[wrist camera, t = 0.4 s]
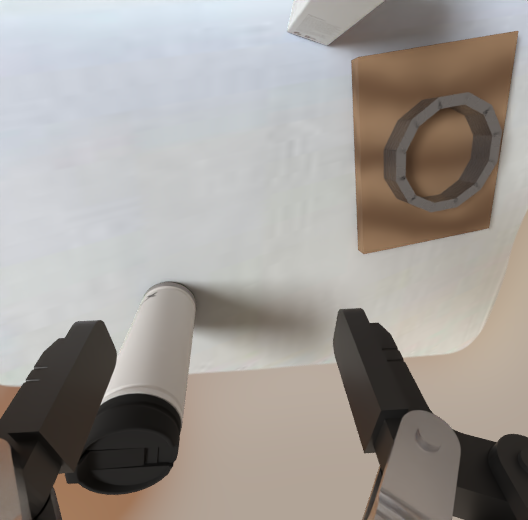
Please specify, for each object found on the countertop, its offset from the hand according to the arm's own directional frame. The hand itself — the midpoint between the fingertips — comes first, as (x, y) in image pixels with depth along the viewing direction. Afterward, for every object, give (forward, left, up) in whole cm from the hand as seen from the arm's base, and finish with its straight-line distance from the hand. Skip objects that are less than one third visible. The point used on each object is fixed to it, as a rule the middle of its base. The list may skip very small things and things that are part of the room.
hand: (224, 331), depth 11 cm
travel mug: (+12, -9, -25) cm, 29 cm away
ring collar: (0, +23, -23) cm, 33 cm away
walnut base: (0, +23, -24) cm, 34 cm away
